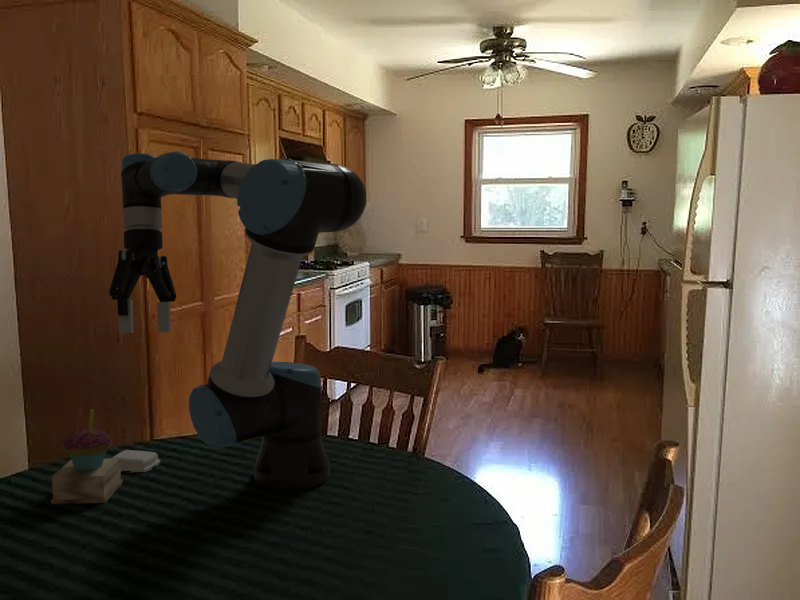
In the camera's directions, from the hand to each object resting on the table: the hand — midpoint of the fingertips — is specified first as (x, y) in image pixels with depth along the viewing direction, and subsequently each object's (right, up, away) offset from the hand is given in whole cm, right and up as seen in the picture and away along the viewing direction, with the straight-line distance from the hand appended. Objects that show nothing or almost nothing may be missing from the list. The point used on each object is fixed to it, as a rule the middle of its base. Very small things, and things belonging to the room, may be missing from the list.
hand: (146, 332), depth 140 cm
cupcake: (-6, -25, -12) cm, 28 cm away
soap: (-3, -28, +2) cm, 29 cm away
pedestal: (-6, -30, -12) cm, 32 cm away
